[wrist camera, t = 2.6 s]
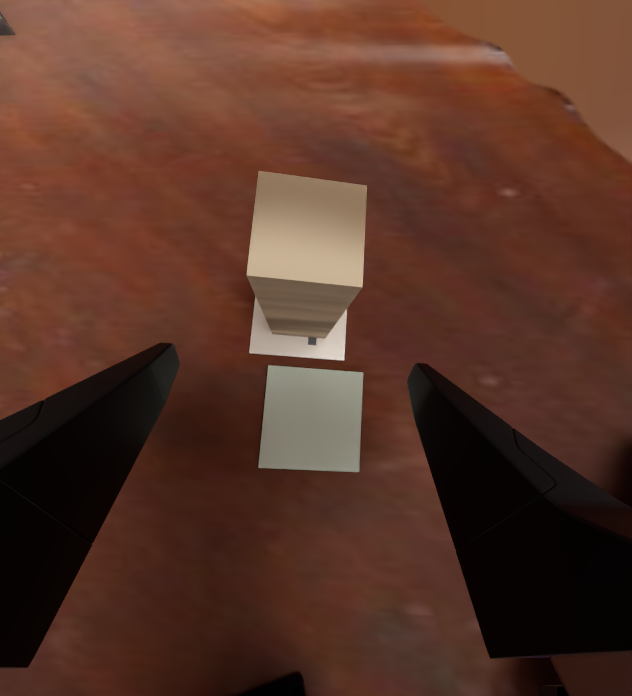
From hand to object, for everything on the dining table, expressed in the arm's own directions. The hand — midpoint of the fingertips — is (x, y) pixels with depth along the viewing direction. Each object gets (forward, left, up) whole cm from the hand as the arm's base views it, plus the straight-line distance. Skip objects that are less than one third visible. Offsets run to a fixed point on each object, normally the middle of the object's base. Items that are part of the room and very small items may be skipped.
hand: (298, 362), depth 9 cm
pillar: (+2, +5, -11) cm, 12 cm away
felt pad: (+1, -4, -12) cm, 12 cm away
